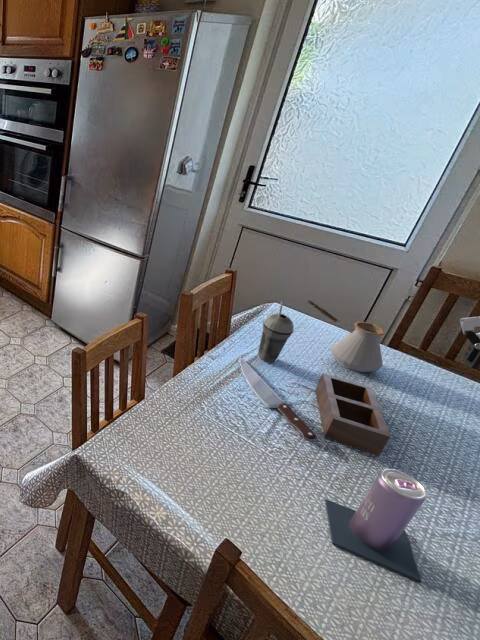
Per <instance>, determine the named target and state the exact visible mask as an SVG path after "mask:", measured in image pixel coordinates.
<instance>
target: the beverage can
mask: <svg viewBox="0 0 480 640" xmlns="http://www.w3.org/2000/svg"><path fill="white" fill-rule="evenodd" d="M426 497H427V491H426V489H425V488H424V486H423V485H422V484H421V482H419V481H418V480H417V479H416V478H414V477H412V476H411V475H409V474H408V473H405V472H403V471H401V470H397V469H394V468H385V469H383V470H382V471H381V472H379V473H378V474H377V476H376V477H375V480H374V481H373V483H372V485H371V486H370V487H369V489H368V491H367V492H366V493H365V496H364V498H363V499H362V501H361V502H360V504H359V506H358V508H357V509H356V510H355V511H356V512H355V514H354V516H353V517H352V519H351V521H350V527H351V530H352V532H353V533H354V535H355V536H356V537H357V538H358V539H359V540H360V541H361V542H362V543H364V544H365V545H367V546H369V547H371V548H373V549H376V550H381V551H385V550H389V549H391V548H392V546H393V545H394V543H395V542H396V541H397V539H398V538H399V536H400V535H401V534H402V532H403V531H404V530H405V529H406V528H407V527H408V525H409V524H410V522H411V521H412V519H413V518H414V517H415V515H416V514H417V512H418V511H419V509H420V508H421V507H422V506H423V504H424V503H425V501H426Z"/></svg>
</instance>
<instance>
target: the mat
mask: <svg viewBox="0 0 480 640" xmlns="http://www.w3.org/2000/svg"><path fill="white" fill-rule="evenodd" d="M324 502H325V509H326V516H327V522H328V528H329V533H330V534H329V535H330V540H331V545H332V546H335V547H337V548H340V549H342V550H345V551H347V552H349V553H351V554H354V555H356V556H358V557H361V558H363V559H365V560H368V561H370V562H372V563H374V564H377V565H379V566H382V567H384V568H386V569H388V570H391V571H392V572H395V573H397V574H400V575H402V576H404V577H407V578H409V579H412V580H413V581H416V582H418V583H422V578H421V575H420V572H419V570H418V566H417V563H416V560H415V556H414V553H413V550H412V548H411V544H410V541H409V538H408V536H407V532H406V530H405V529H404V531H403V532H402V534H401V535H400V536H399V538H398V539H397V541H396V542H395V543H394V545H393V546H392V548H391V549H389V550H385V551H381V550H376V549H373V548H371V547H369V546H367V545H365V544H364V543H362V542H361V541H360V540H359V539H358V538H357V537H356V536H355V535H354V533H353V532H352V530H351V527H350V521H351V519H352V517H353V516H354V514H355V512H356V511H357V510H355V509H353V508H350V507H347V506H345V505H342V504H339V503H337V502H334V501H332V500H330V499H326V498H325V499H324Z"/></svg>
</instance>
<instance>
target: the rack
mask: <svg viewBox="0 0 480 640" xmlns="http://www.w3.org/2000/svg"><path fill="white" fill-rule="evenodd" d="M314 390H315V391H314V392H315V395H316V401H317V406H318V411H319V416H320V421H321V427H322V432H323V437H324V438H327V439H329V440H332V441H335V442H338V443H341V444H343V445H347V446H350V447H353V448H355V449H359V450H361V451H365V452H368V453H370V454H374V455H377V456H380V455H381V454H382V452H383V450H384V449H385V447H386V445H387V444H388V442H389V441H390V439H391V435H390V431H389V429H388V426H387V424H386V423H387V422H386V421H385V418H384V415H383V413H382V411H381V407H380V405H379V402H378V399H377V396H376V394H375V391H374V389H373V386H372V385H368V384H366V383H361V382H357V381H354V380H351V379H346V378H344V377H339V376H336V375H333V374H329V373H325V372H322V374H321V376H320V378H319V380H318V383H317V385H316V386H315V389H314Z"/></svg>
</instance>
